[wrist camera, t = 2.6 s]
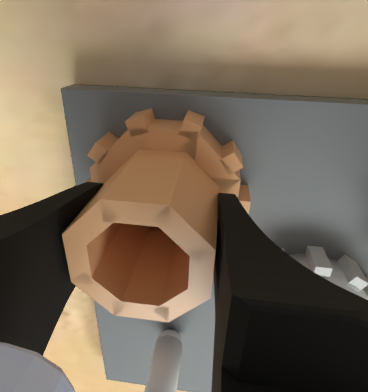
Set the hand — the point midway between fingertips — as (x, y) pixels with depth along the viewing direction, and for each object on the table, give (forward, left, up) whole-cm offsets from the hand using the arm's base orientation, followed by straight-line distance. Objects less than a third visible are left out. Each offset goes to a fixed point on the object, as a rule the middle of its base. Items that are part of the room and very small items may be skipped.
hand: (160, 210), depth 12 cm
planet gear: (0, 0, -2) cm, 2 cm away
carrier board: (+7, -6, -3) cm, 10 cm away
